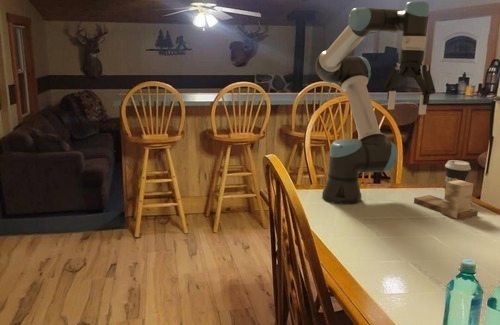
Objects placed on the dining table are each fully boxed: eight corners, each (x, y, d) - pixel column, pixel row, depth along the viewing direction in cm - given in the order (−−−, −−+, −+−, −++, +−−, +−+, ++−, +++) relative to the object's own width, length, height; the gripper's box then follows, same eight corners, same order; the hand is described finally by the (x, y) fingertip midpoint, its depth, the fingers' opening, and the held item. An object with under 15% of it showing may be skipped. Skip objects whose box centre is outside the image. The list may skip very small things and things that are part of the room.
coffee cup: (444, 193, 197) (448, 158, 194) (468, 198, 192) (473, 162, 188) (438, 198, 190) (442, 162, 186) (463, 203, 184) (468, 166, 181)
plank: (413, 202, 183) (414, 197, 183) (429, 199, 188) (429, 194, 187) (461, 219, 166) (462, 214, 165) (477, 215, 170) (478, 210, 170)
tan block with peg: (440, 213, 171) (445, 182, 169) (458, 209, 176) (462, 179, 174) (455, 218, 166) (459, 186, 164) (472, 214, 171) (477, 183, 169)
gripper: (377, 48, 168) (371, 107, 173) (437, 50, 147) (428, 117, 152) (391, 49, 172) (386, 107, 177) (452, 50, 151) (443, 116, 156)
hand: (405, 111), depth 165 cm, fingers open, 13 cm apart
